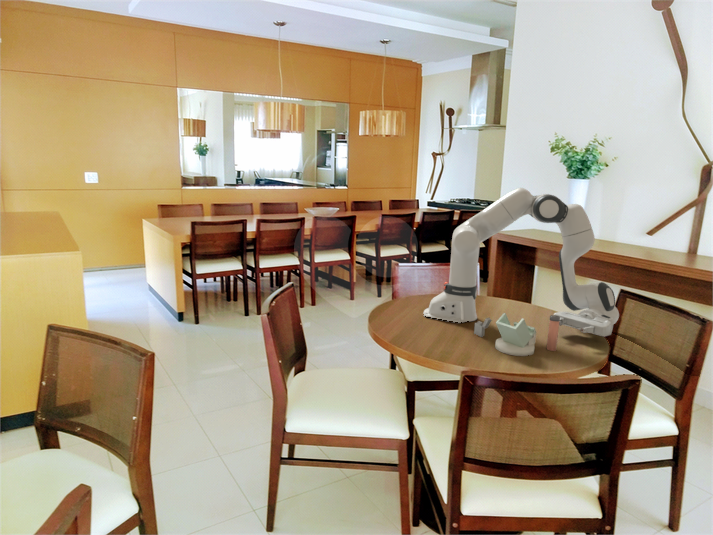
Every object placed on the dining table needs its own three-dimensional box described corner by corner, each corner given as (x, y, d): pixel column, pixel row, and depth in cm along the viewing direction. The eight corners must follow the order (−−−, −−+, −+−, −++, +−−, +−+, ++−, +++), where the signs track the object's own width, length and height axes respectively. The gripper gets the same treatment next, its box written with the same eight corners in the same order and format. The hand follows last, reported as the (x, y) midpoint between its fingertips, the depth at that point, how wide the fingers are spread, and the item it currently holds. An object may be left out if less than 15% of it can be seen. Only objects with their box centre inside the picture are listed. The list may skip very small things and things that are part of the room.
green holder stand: (518, 358, 160) (522, 322, 157) (487, 346, 170) (490, 312, 167) (541, 351, 167) (545, 316, 165) (510, 340, 178) (513, 307, 175)
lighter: (473, 333, 184) (475, 313, 182) (477, 333, 184) (478, 313, 183) (486, 339, 177) (488, 318, 176) (490, 339, 178) (492, 318, 177)
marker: (546, 350, 168) (550, 317, 166) (545, 347, 172) (549, 314, 169) (556, 351, 167) (560, 318, 165) (555, 348, 171) (559, 315, 168)
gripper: (565, 306, 190) (545, 311, 182) (617, 319, 174) (598, 325, 166) (563, 321, 192) (543, 327, 184) (615, 336, 176) (596, 343, 167)
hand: (570, 326), depth 175 cm, fingers open, 8 cm apart
